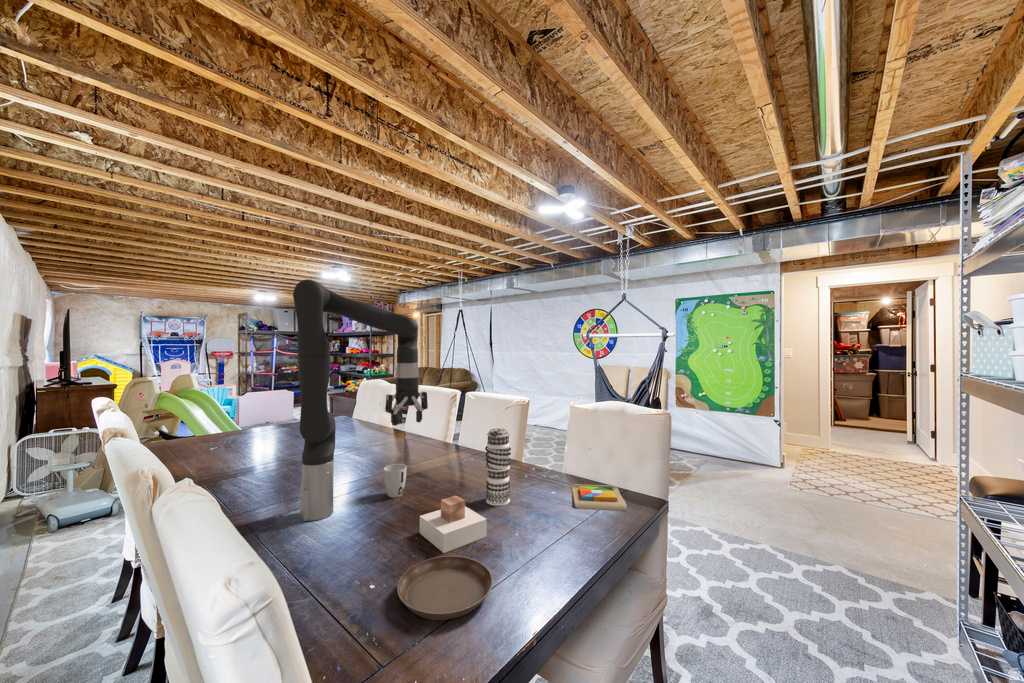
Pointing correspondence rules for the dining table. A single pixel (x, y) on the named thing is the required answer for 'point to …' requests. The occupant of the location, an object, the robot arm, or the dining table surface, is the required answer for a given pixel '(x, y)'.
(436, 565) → the plant saucer
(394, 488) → the cup
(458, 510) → the terracotta cube
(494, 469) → the decorative candle
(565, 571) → the dining table surface
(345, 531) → the dining table surface
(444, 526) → the off-white plinth
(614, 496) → the wooden puzzle
